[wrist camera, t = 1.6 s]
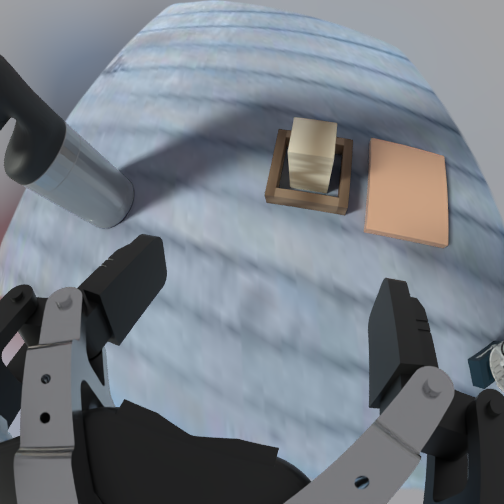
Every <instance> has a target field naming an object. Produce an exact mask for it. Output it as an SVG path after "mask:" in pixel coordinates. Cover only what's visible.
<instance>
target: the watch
mask: <svg viewBox="0 0 504 504" xmlns="http://www.w3.org/2000/svg"><path fill="white" fill-rule="evenodd" d="M468 363H469V368H470V373H471V377H472V383H473V386H476V387H479V388H483V389H485V388H486V387H488V386H489V385H490V384H492V383H493V382H494V381H496V385H497V386H498V387H499V389H501V390H502V391H503V392H504V340H503V341H493V342H492V343H491V344H489V345H488V346H487V347H485V348H484V349H482V350H481V351H480V352H478V353H477V354H475V355H474V356H472V357H471V358H469V359H468Z"/></svg>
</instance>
